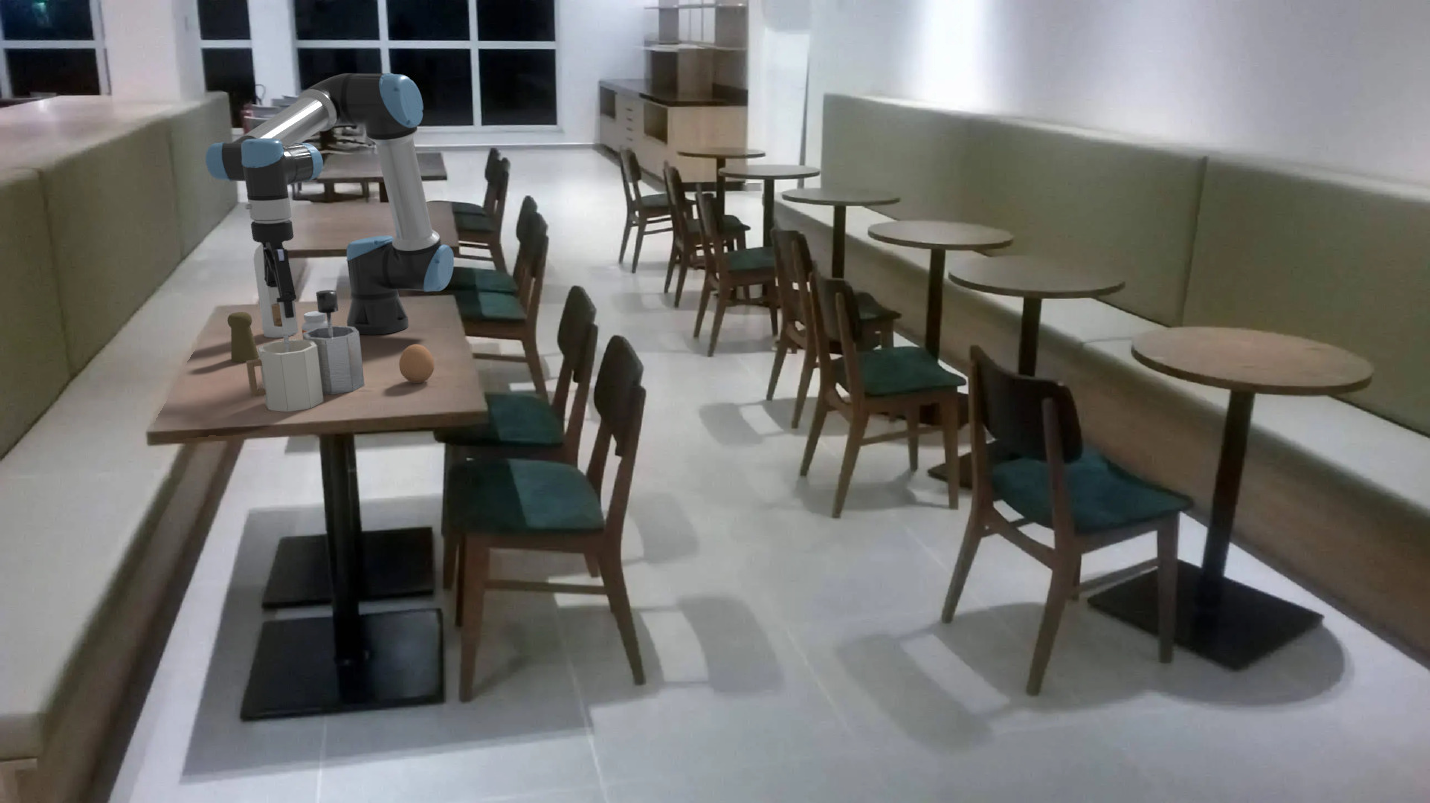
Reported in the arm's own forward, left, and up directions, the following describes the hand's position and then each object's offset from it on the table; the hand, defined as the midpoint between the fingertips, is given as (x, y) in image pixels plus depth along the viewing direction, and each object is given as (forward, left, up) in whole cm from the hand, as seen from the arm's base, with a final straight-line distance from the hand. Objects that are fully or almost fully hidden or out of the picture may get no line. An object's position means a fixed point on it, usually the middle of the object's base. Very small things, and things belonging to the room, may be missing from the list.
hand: (284, 325), depth 221 cm
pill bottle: (-11, -30, -17) cm, 36 cm away
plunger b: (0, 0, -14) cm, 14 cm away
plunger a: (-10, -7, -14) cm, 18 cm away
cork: (+4, -39, -17) cm, 43 cm away
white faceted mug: (+1, 0, -16) cm, 16 cm away
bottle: (-7, -58, -17) cm, 61 cm away
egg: (-26, -1, -17) cm, 31 cm away
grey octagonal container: (-9, -7, -16) cm, 20 cm away
